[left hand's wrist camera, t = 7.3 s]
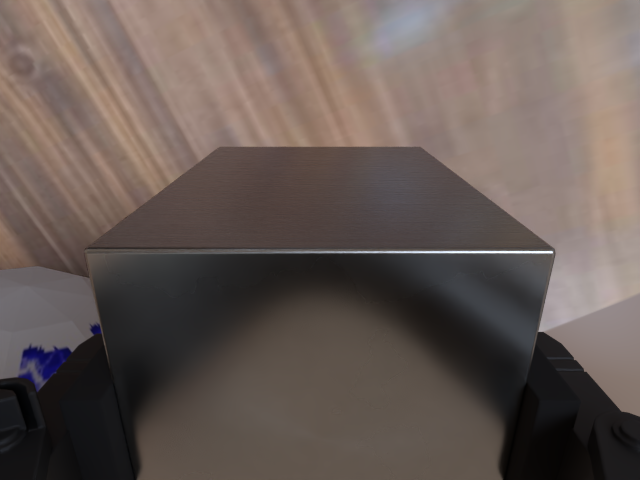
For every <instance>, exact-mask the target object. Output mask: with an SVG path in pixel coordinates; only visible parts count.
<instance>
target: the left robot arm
mask: <svg viewBox="0 0 640 480" xmlns="http://www.w3.org/2000/svg"><path fill="white" fill-rule="evenodd" d="M0 480H134V476H133V471H132V467H131V462H130V458H129V453H128V449H127V444H126V440H125V435H124V431H123V426H122V422H121V417H120V413H119V408H118V404H117V399H116V395H115V390H114V386H113V381H112V377H111V372H110V368H109V363H108V359H107V354H106V350H105V345H104V341H103V336H102V333H97V334H95V335H94V336H92V337H90V338H89V339H87V340H86V341H84V342H83V343H81V344H80V345H78V346H77V347H76V349H75V350H74V351H73V352H72V353H71V354H70V355H69V357H68V358H67V359H66V362H63V363H62V365H61V366H60V367H59V368H58V369H57V370H56V373H54V374H53V375H52V376H51V377H50V378H49V379H48V380H47V382H46V383H45V384H44V385H43V386H42V387H41V388H40V390H39V391H38V392H37V391H36V387H35V384H34V383H33V382H31V381H30V380H29V379H25V378H18V377H13V378H5V379H0ZM505 480H640V417H639V416H636V415H633V414H630V413H627V412H621V411H620V409H619V408H618V407H617V406H616V405H615V404H614V403H613V402H612V400H611V399H610V398H609V397H608V396H607V395H606V394H605V392H604V391H603V390H602V389H601V388H600V387H599V386H598V385H597V383H596V382H595V381H594V380H593V379H592V378H591V377H590V375H589V374H588V373H587V372H584V369H583V368H582V366H581V365H580V364H579V363H578V362H577V361H576V360H574V358H573V356H572V355H571V354H570V353H569V352H568V351H567V349H566V348H565V347H564V346H563V345H562V344H561V343H560V342H558V341H556V340H555V339H553V338H552V337H550V336H549V335H547V334H546V333H544V332H538V335H537V339H536V344H535V348H534V353H533V357H532V362H531V366H530V371H529V375H528V380H527V384H526V389H525V393H524V398H523V402H522V407H521V411H520V416H519V420H518V425H517V429H516V434H515V438H514V443H513V447H512V452H511V456H510V461H509V465H508V470H507V474H506V479H505Z"/></svg>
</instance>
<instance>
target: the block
mask: <svg viewBox="0 0 640 480" xmlns="http://www.w3.org/2000/svg"><path fill="white" fill-rule="evenodd" d="M84 255H85V260H86V264H87V269H88V273H89V278H90V282H91V287H92V291H93V296H94V300H95V305H96V309H97V314H98V318H99V323H100V327H101V332H102V336H103V341H104V345H105V350H106V354H107V359H108V363H109V368H110V372H111V377H112V381H113V386H114V390H115V395H116V399H117V404H118V408H119V413H120V417H121V422H122V426H123V431H124V435H125V440H126V444H127V449H128V453H129V458H130V462H131V467H132V471H133V476H134V480H505V479H506V474H507V470H508V465H509V461H510V456H511V452H512V447H513V443H514V438H515V434H516V429H517V425H518V420H519V416H520V411H521V407H522V402H523V398H524V393H525V389H526V384H527V380H528V375H529V371H530V366H531V362H532V357H533V353H534V348H535V344H536V339H537V335H538V330H539V326H540V321H541V317H542V312H543V308H544V303H545V299H546V294H547V289H548V285H549V280H550V276H551V271H552V267H553V262H554V258H555V249H554V248H553V247H552V246H550V245H549V244H548V243H546V242H545V241H544V240H542V239H541V238H540V237H538V236H537V235H536V234H534V233H533V232H532V231H530V230H529V229H528V228H527V227H525V226H524V225H523V224H521V223H520V222H519V221H517V220H516V219H515V218H513V217H512V216H511V215H509V214H508V213H507V212H505V211H504V210H503V209H502V208H500V207H499V206H498V205H496V204H495V203H494V202H492V201H491V200H490V199H488V198H487V197H486V196H484V195H483V194H482V193H480V192H479V191H478V190H477V189H475V188H474V187H473V186H471V185H470V184H469V183H467V182H466V181H465V180H463V179H462V178H461V177H459V176H458V175H457V174H455V173H454V172H453V171H452V170H450V169H449V168H448V167H446V166H445V165H444V164H442V163H441V162H440V161H438V160H437V159H436V158H434V157H433V156H432V155H430V154H429V153H428V152H427V151H425V150H424V149H423V148H421V147H219V148H217V149H216V150H215V151H213V152H212V153H211V154H209V155H208V156H207V157H205V158H204V159H203V160H201V161H200V162H199V163H197V164H196V165H195V166H193V167H192V168H191V169H190V170H188V171H187V172H186V173H184V174H183V175H182V176H180V177H179V178H178V179H176V180H175V181H174V182H172V183H171V184H170V185H168V186H167V187H166V188H165V189H163V190H162V191H161V192H159V193H158V194H157V195H155V196H154V197H153V198H151V199H150V200H149V201H147V202H146V203H145V204H143V205H142V206H141V207H139V208H138V209H137V210H136V211H134V212H133V213H132V214H130V215H129V216H128V217H126V218H125V219H124V220H122V221H121V222H120V223H118V224H117V225H116V226H114V227H113V228H112V229H110V230H109V231H108V232H107V233H105V234H104V235H103V236H101V237H100V238H99V239H97V240H96V241H95V242H93V243H92V244H91V245H89V246H88V247H87V248H85V251H84Z"/></svg>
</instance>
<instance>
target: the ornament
mask: <svg viewBox="0 0 640 480" xmlns="http://www.w3.org/2000/svg"><path fill="white" fill-rule="evenodd" d="M97 333H102V332H101V327H100V323H99V318H98V314H97V309H96V305H95V300H94V296H93V291H92V287H91V282H90V278H87V277H83V276H79V275H74V274H70V273H66V272H62V271H57V270H53V269H49V268H44V267H40V266H34V267H24V268H15V269H5V270H0V379H5V378H13V377H18V378H25V379H29V380H30V381H31V382H33V383H34V384H35V387H36V391H37V392H38V391H39V390H40V388H41V387H42V386H43V385H44V384H45V383H46V382H47V380H48V379H49V378H50V377H51V376H52V375H53V374H54V373H56V370H57V369H58V368H59V367H60V366H61V365H62V363H63V362H66V359H67V358H68V357H69V355H70V354H71V353H72V352H73V351H74V350H75V349H76V347H77V346H78V345H80V344H81V343H83V342H84V341H86V340H87V339H89V338H90V337H92V336H94V335H95V334H97Z"/></svg>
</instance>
